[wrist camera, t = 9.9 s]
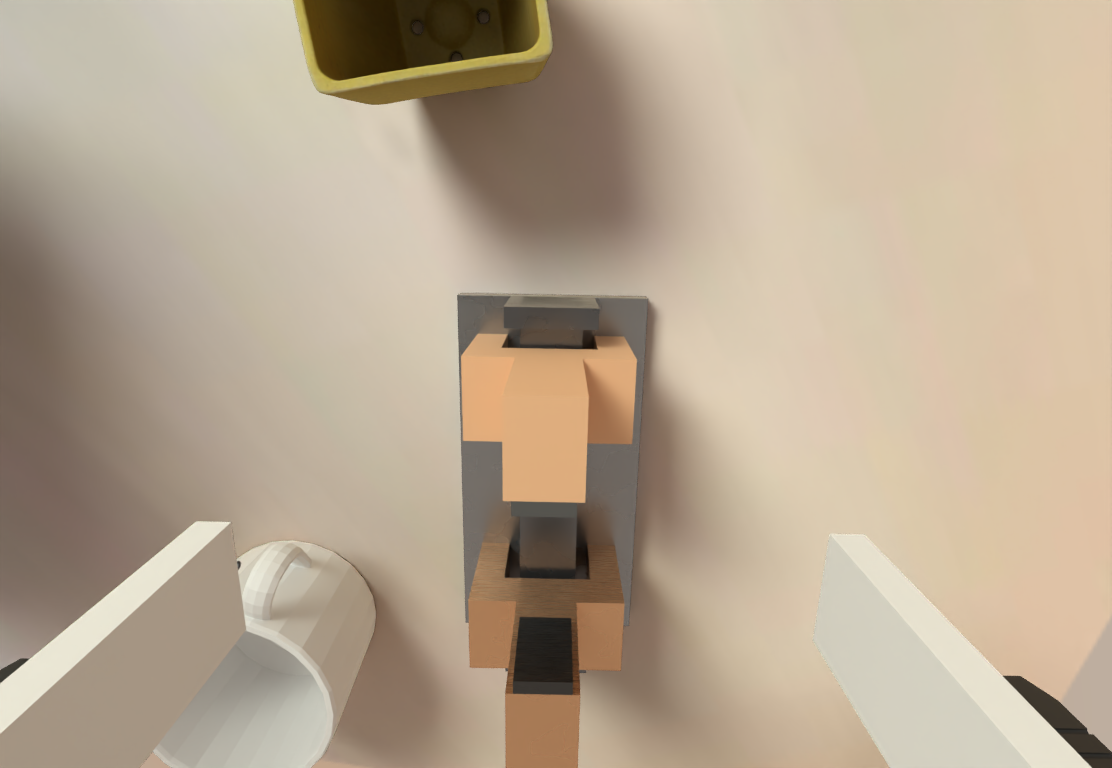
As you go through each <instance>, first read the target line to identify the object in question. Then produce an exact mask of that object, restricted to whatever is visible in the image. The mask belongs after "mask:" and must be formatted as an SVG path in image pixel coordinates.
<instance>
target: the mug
mask: <svg viewBox="0 0 1112 768" xmlns="http://www.w3.org/2000/svg"><path fill="white" fill-rule="evenodd" d="M236 560H237V567H238V574H239V581H240V588H241V595H242V602H243V610H244V617H245V624H246V630H245V632H244V633H243V634H242V636H241V637H240V638H239V640H238V641H237V642H236V643H235V645H234V646H233V647H232V649H231V650H230V651H229V653H228V654H227V655H226V656H225V658H224V659H223V660H222V662H221V663H220V664H219V666H218V667H217V668H216V670H215V671H214V672H213V673H212V675H211V676H210V677H209V679H208V680H207V681H206V683H205V684H204V685H203V686H202V688H201V689H200V690H199V692H198V693H197V694H196V696H195V697H194V698H193V700H192V701H191V702H190V703H189V705H188V706H187V707H186V709H185V710H184V711H183V713H182V714H181V715H180V716H179V718H178V719H177V720H176V722H175V723H174V724H173V726H172V727H171V728H170V730H169V731H168V732H167V733H166V735H165V736H164V737H163V739H162V740H161V741H160V743H159V744H158V745H157V746H156V748H155V749H154V750H153V753H154V754H156V756H157V757H159V758H160V759H161V760H162V761H163V762H164V763H165V764H166V765H168V766H169V767H171V768H312V767H313V766H314V765H315V764H316V763H317V762H318V761H319V760H320V758H321V757H322V756H323V755H324V754H325V753H326V751H327V749H328V747H329V745H330V743H331V740H332V738H333V736H334V734H335V732H336V729H337V726H338V724H339V721H340V719H341V716H342V713H343V711H344V708H345V706H346V703H347V700H348V698H349V695H350V693H351V690H352V687H353V685H354V682H355V680H356V677H357V674H358V672H359V669H360V667H361V664H362V661H363V659H364V656H365V654H366V651H367V649H368V646H369V643H370V641H371V638H372V636H373V633H374V629H375V621H376V610H375V605H374V599H373V596H372V594H371V592H370V590H369V588H368V586H367V584H366V582H365V580H364V578H363V577H362V576H361V575H360V574H359V573H358V572H357V570H356V569H355V568H354V567H353V566H352V565H351V564H350V563H349V562H347V561H346V560H344V559H343V558H342V557H340V556H339V555H337V554H336V553H334V552H332V551H330V550H328V549H325V548H323V547H320V546H318V545H315V544H312V543H306V542H300V541H294V540H290V541H275V542H269V543H266V544H263V545H260V546H257V547H254V548H252V549H251V550H249V551H248V552H246V553H245V554H243V555H242V556H240V557H239V558H237V559H236Z"/></svg>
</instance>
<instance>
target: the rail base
mask: <svg viewBox="0 0 1112 768" xmlns="http://www.w3.org/2000/svg"><path fill="white" fill-rule="evenodd" d="M457 300H458V339H459V377H460V416H461V455H462V494H463V533H464V572H465V611H466V623H469V651H470V667H472V668H505V670H506V671H508V676H507V684H506V693H505V713H506V768H578V742H579V714H580V679H579V673H586V670H613V671H621V658H622V640H623V626H629V615H630V598H631V581H632V564H633V547H634V530H635V513H636V496H637V480H638V463H639V446H640V429H641V412H642V395H643V378H644V361H645V344H646V327H647V310H648V298H647V297H644V296H592V295H540V294H488V293H460V294H458V295H457ZM477 334H508V348H542V349H593V350H594V336H622V337H625V339H626V341H627V343H628V344H629V346H630V348H631V350H632V352H633V354H634V355H635V357H636V359H637V367H636V385H635V403H634V421H633V438H632V444H593V443H587V466H586V495H585V503H577V518H576V517H527V516H511V501H503V467H502V442H493V441H463V416H462V376H461V356H462V354H463V353H464V352H465V350H466V349H467V348H468V346H469V345H470V344H471V342H472V341H473V340H474V338H475V337H476V336H477Z"/></svg>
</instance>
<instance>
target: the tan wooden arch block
mask: <svg viewBox="0 0 1112 768" xmlns="http://www.w3.org/2000/svg"><path fill="white" fill-rule="evenodd" d="M636 367H637V359H636V357H635V355H634V354H633V352H632V350H631V348H630V346H629V344H628V343H627V341H626V339H625V337H622V336H594V350H593V349H542V348H508V334H477V336H476V337H475V338H474V340H473V341H472V342H471V344H470V345H469V346H468V348H467V349H466V350H465V352H464V353H463V354H462V356H461V376H462V416H463V441H493V442H502V467H503V501H511V516H527V517H576V518H577V503H585V495H586V466H587V443H593V444H632V438H633V421H634V403H635V385H636Z"/></svg>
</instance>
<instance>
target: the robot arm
mask: <svg viewBox="0 0 1112 768" xmlns="http://www.w3.org/2000/svg"><path fill="white" fill-rule="evenodd" d="M245 630H246V624H245V617H244V610H243V602H242V595H241V588H240V581H239V574H238V567H237V560H236V553H235V545H234V538H233V531H232V524H231V522H205V521H196V522H195V523H194V524H192V525H191V526H190V527H189V528H188V529H186V530H185V531H184V532H183V533H182V534H180V535H179V536H178V537H177V538H176V539H174V540H173V541H172V542H171V543H170V544H168V545H167V546H166V547H165V548H163V549H162V550H161V551H160V552H159V553H157V554H156V555H155V556H154V557H153V558H151V559H150V560H149V561H148V562H147V563H145V564H144V565H143V566H142V567H140V568H139V569H138V570H137V571H136V572H134V573H133V574H132V575H131V576H130V577H128V578H127V579H126V580H125V581H124V582H122V583H121V584H120V585H119V586H118V587H116V588H115V589H114V590H113V591H111V592H110V593H109V594H108V595H107V596H105V597H104V598H103V599H102V600H101V601H99V602H98V603H97V604H96V605H95V606H93V607H92V608H91V609H90V610H88V611H87V612H86V613H85V614H84V615H82V616H81V617H80V618H79V619H78V620H76V621H75V622H74V623H73V624H72V625H70V626H69V627H68V628H67V629H65V630H64V631H63V632H62V633H61V634H59V635H58V636H57V637H56V638H55V639H53V640H52V641H51V642H50V643H49V644H47V645H46V646H45V647H44V648H43V649H41V650H40V651H39V652H38V653H36V654H35V655H34V656H33V657H32V658H30V659H19V660H17V661H16V662H14V663H12V664H10V665H8V666H7V667H5V668H3V669H1V670H0V768H140V767H141V766H142V765H143V763H144V762H145V760H147V758H148V757H149V756H150V754H151V753H152V752H153V750H154V749H155V748H156V746H157V745H158V744H159V743H160V741H161V740H162V739H163V737H164V736H165V735H166V733H167V732H168V731H169V730H170V728H171V727H172V726H173V724H174V723H175V722H176V720H177V719H178V718H179V716H180V715H181V714H182V713H183V711H184V710H185V709H186V707H187V706H188V705H189V703H190V702H191V701H192V700H193V698H194V697H195V696H196V694H197V693H198V692H199V690H200V689H201V688H202V686H203V685H204V684H205V683H206V681H207V680H208V679H209V677H210V676H211V675H212V673H213V672H214V671H215V670H216V668H217V667H218V666H219V664H220V663H221V662H222V660H223V659H224V658H225V656H226V655H227V654H228V653H229V651H230V650H231V649H232V647H233V646H234V645H235V643H236V642H237V641H238V640H239V638H240V637H241V636H242V634H243V633H244V632H245ZM813 642H814V643H815V645H816V647H817V648H818V650H819V652H820V653H821V655H822V657H823V658H824V660H825V662H826V663H827V665H828V667H829V668H830V670H831V672H832V673H833V675H834V677H835V678H836V680H837V681H838V683H839V685H840V686H841V688H842V690H843V691H844V693H845V695H846V696H847V698H848V700H849V701H850V703H851V705H852V706H853V708H854V710H855V711H856V713H857V715H858V716H859V718H860V719H861V721H862V723H863V724H864V726H865V728H866V729H867V731H868V733H869V734H870V736H871V738H872V739H873V741H874V743H875V744H876V746H877V748H878V749H879V751H880V753H881V754H882V756H883V758H884V759H885V761H886V762H887V764H888V766H889V767H890V768H1112V752H1111V751H1110V750H1109V749H1107V747H1106V746H1105V745H1103V744H1102V743H1101V742H1100V741H1099V740H1098V739H1097V738H1096V737H1095V736H1094V735H1091V734H1088V732H1087V728H1086V727H1085V726H1084V725H1083V724H1082V723H1080V721H1079V720H1077V719H1076V718H1075V717H1074V716H1073V715H1072V714H1071V713H1070V712H1069V711H1068V710H1067V709H1066V708H1065V707H1064V706H1063V705H1062V704H1061V703H1060V702H1059V701H1058V700H1056V699H1055V698H1053V697H1052V696H1050V695H1049V694H1047V693H1046V692H1044V691H1042V690H1041V689H1039V688H1038V687H1036V686H1035V685H1033V684H1032V683H1030V682H1029V681H1027V680H1026V679H1024V678H1022V677H1021V676H1002V675H1001V674H1000V673H999V672H998V671H997V670H996V669H995V668H994V667H993V666H992V665H991V664H990V663H989V662H988V661H987V660H986V659H985V658H984V657H983V656H982V654H981V653H980V652H979V651H978V650H977V649H976V648H975V647H974V646H973V645H972V644H971V643H970V642H969V641H968V640H967V639H966V638H965V637H964V636H963V635H962V634H961V633H960V632H959V631H958V630H957V629H956V628H955V627H954V626H953V625H952V624H951V623H950V622H949V621H948V620H947V619H946V618H945V617H944V616H943V614H942V613H941V612H940V611H939V610H938V609H937V608H936V607H935V606H934V605H933V604H932V603H931V602H930V601H929V600H928V599H927V598H926V597H925V596H924V595H923V594H922V593H921V592H920V591H919V590H918V589H917V588H916V587H915V586H914V585H913V584H912V583H911V582H910V581H909V580H908V579H907V578H906V577H905V575H904V574H903V573H902V572H901V571H900V570H899V569H898V568H897V567H896V566H895V565H894V564H893V563H892V562H891V561H890V560H889V559H888V558H887V557H886V556H885V555H884V554H883V553H882V552H881V551H880V550H879V549H878V548H877V547H876V546H875V545H874V544H873V543H872V542H871V541H870V540H869V539H868V538H867V537H866V535H865V534H829V540H828V547H827V553H826V559H825V566H824V572H823V578H822V585H821V591H820V597H819V604H818V610H817V616H816V623H815V629H814V635H813Z"/></svg>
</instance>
